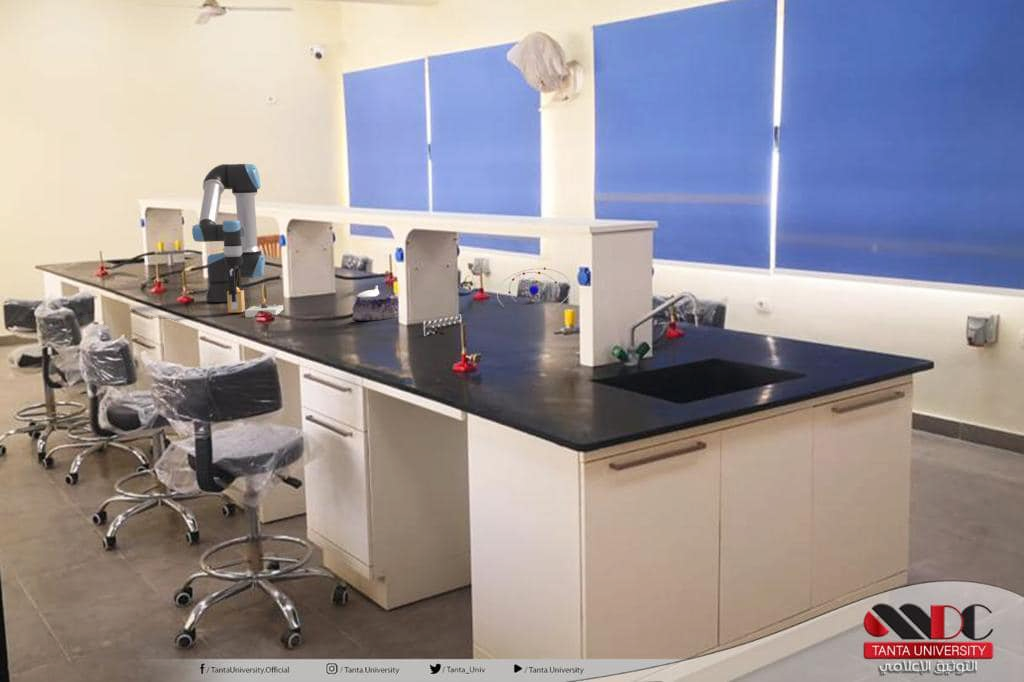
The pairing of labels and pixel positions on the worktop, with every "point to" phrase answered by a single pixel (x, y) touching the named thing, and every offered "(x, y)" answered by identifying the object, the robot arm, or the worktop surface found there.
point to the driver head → (369, 293)
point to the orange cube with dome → (240, 301)
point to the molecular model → (440, 324)
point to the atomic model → (533, 289)
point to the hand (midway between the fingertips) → (236, 308)
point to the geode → (375, 309)
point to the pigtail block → (263, 309)
